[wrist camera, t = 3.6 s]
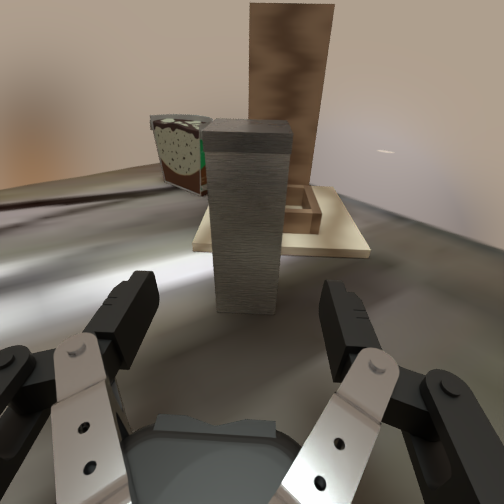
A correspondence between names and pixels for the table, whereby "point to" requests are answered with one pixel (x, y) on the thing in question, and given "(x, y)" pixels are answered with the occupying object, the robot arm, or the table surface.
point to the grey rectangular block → (247, 209)
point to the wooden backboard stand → (296, 125)
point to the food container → (181, 150)
